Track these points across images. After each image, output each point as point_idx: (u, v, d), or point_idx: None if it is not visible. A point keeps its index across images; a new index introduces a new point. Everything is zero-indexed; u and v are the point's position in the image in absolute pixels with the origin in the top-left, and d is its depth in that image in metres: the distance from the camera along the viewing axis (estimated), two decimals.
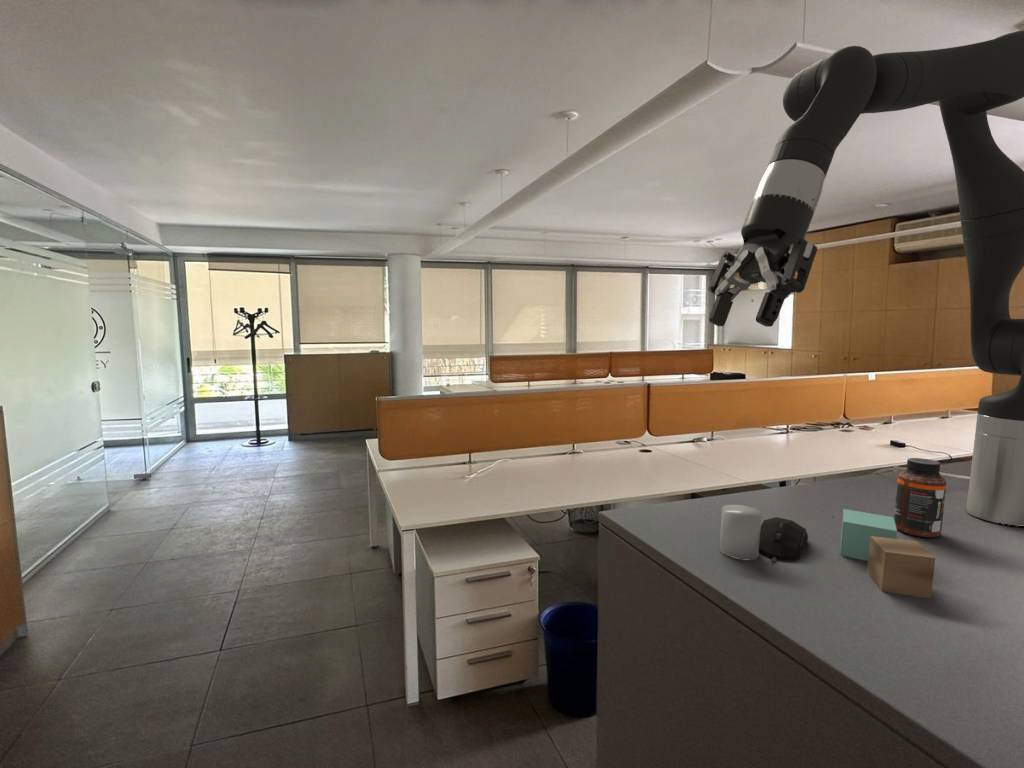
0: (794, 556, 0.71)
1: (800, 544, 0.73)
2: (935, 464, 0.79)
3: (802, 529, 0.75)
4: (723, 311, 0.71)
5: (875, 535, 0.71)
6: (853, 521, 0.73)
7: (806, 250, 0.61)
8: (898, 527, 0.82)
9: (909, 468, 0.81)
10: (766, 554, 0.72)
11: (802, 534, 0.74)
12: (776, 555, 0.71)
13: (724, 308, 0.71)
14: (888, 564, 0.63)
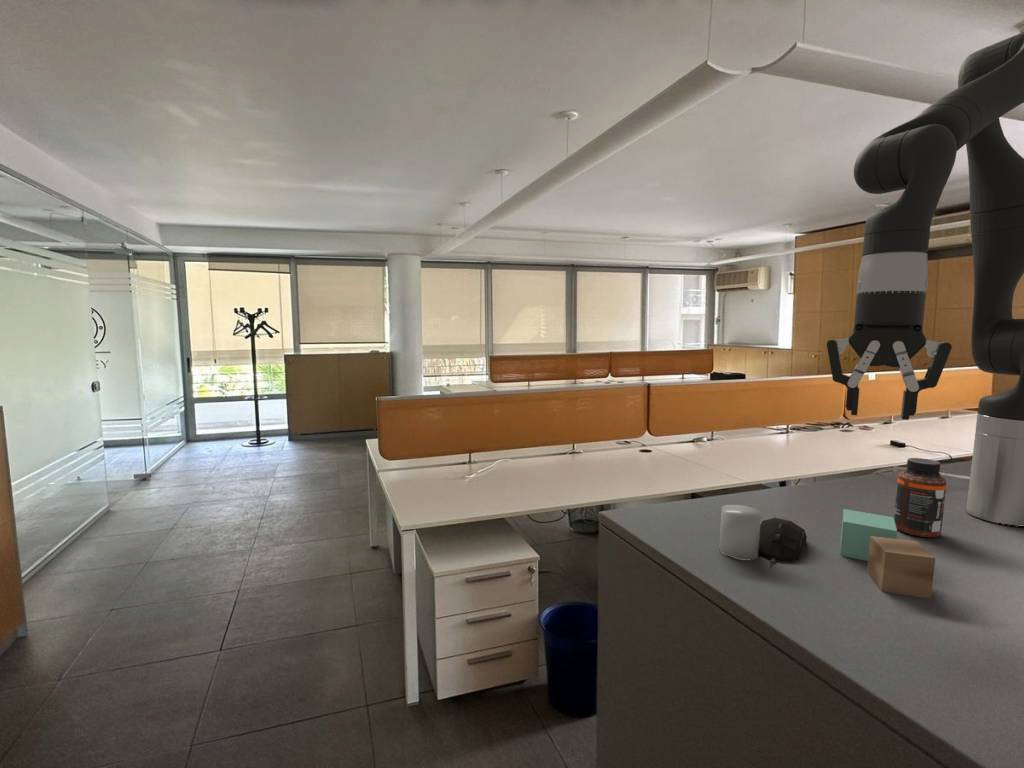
0: (793, 557, 0.71)
1: (799, 545, 0.72)
2: (935, 464, 0.79)
3: (801, 530, 0.75)
4: None
5: (875, 535, 0.71)
6: (853, 521, 0.73)
7: None
8: (898, 527, 0.82)
9: (909, 468, 0.81)
10: (765, 555, 0.72)
11: (801, 535, 0.74)
12: (775, 556, 0.71)
13: None
14: (888, 564, 0.63)
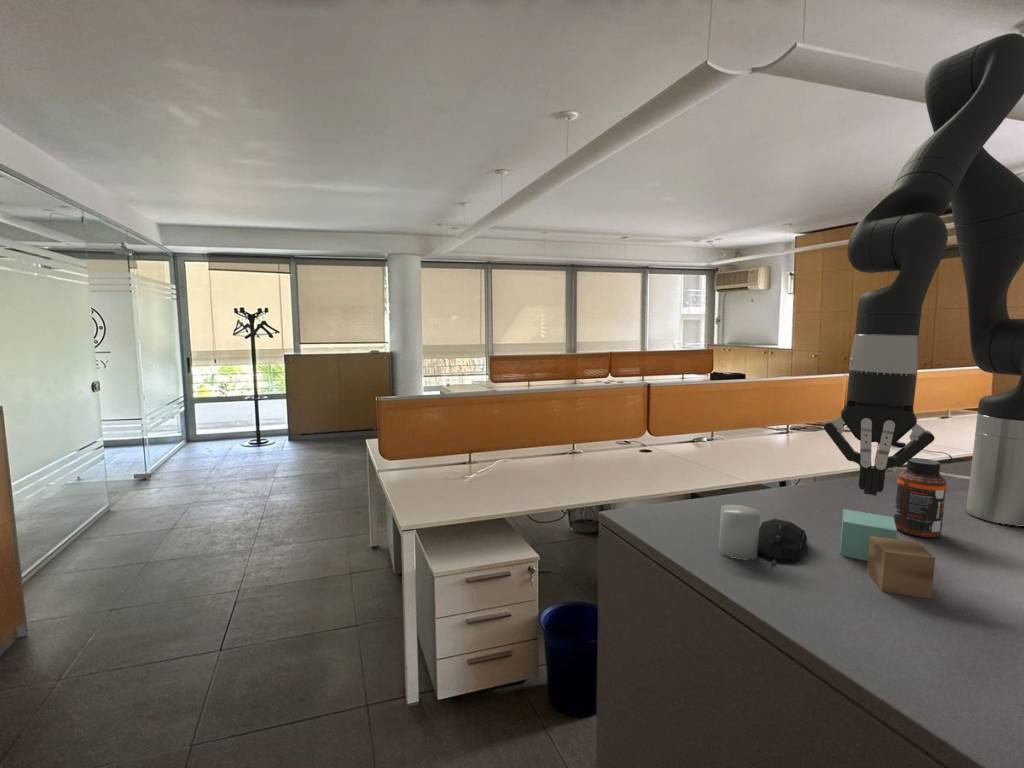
0: (793, 558, 0.70)
1: (799, 546, 0.72)
2: (935, 464, 0.79)
3: (801, 531, 0.75)
4: None
5: (875, 535, 0.71)
6: (853, 521, 0.73)
7: None
8: (898, 527, 0.82)
9: (909, 468, 0.81)
10: (765, 556, 0.71)
11: (801, 536, 0.74)
12: (776, 557, 0.70)
13: None
14: (888, 564, 0.63)
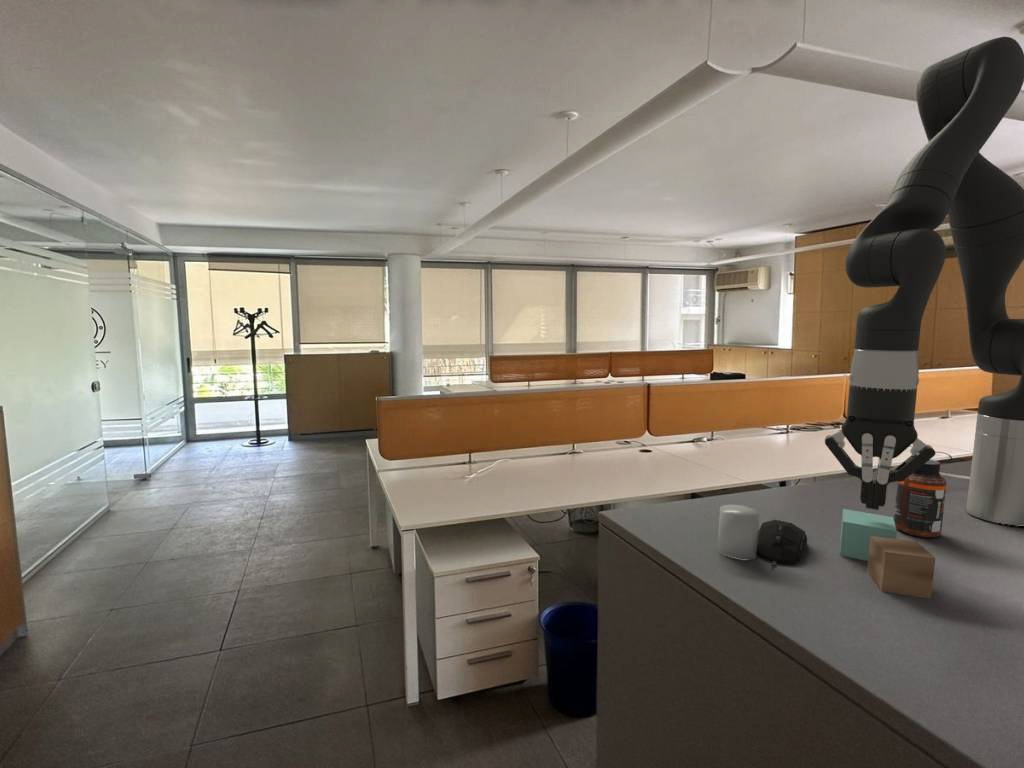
0: (794, 560, 0.70)
1: (800, 547, 0.72)
2: (935, 464, 0.79)
3: (801, 532, 0.74)
4: (872, 493, 0.73)
5: (875, 535, 0.71)
6: (852, 521, 0.73)
7: None
8: (898, 527, 0.82)
9: None
10: (766, 558, 0.71)
11: (802, 537, 0.73)
12: (776, 559, 0.70)
13: None
14: (888, 564, 0.63)
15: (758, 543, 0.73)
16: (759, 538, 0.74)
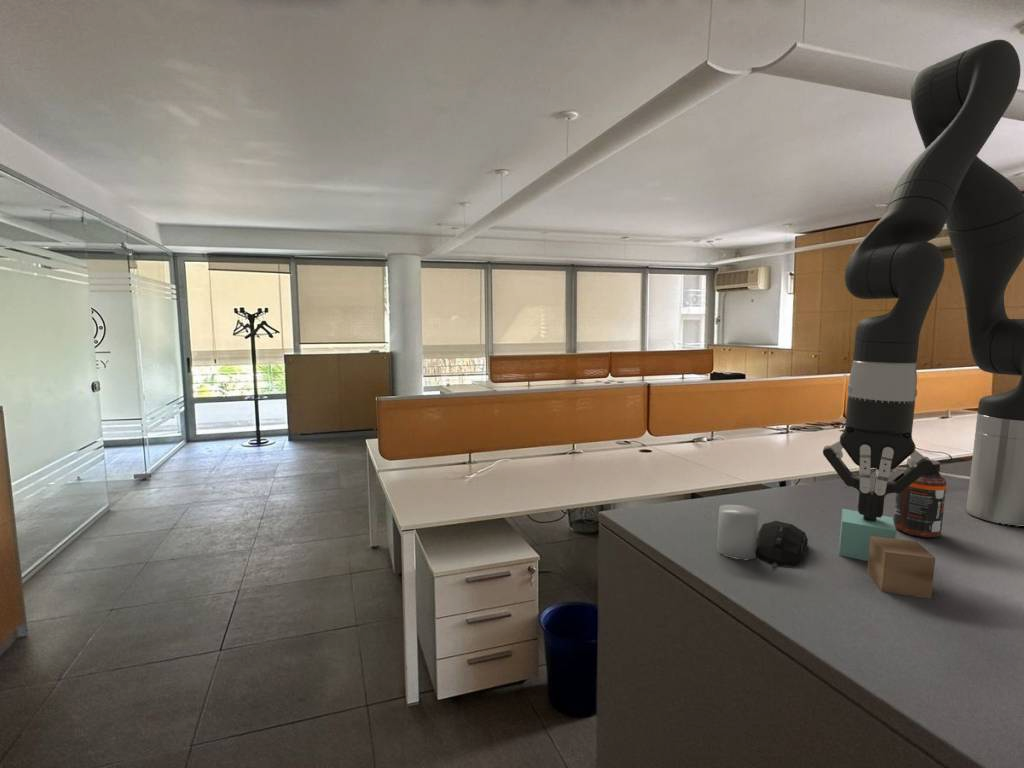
0: (794, 561, 0.69)
1: (801, 549, 0.71)
2: (935, 464, 0.79)
3: (802, 533, 0.74)
4: None
5: (874, 535, 0.71)
6: (852, 521, 0.73)
7: None
8: (898, 527, 0.82)
9: None
10: (766, 559, 0.71)
11: (802, 538, 0.73)
12: (777, 560, 0.70)
13: None
14: (888, 564, 0.63)
15: (759, 544, 0.73)
16: (760, 539, 0.74)
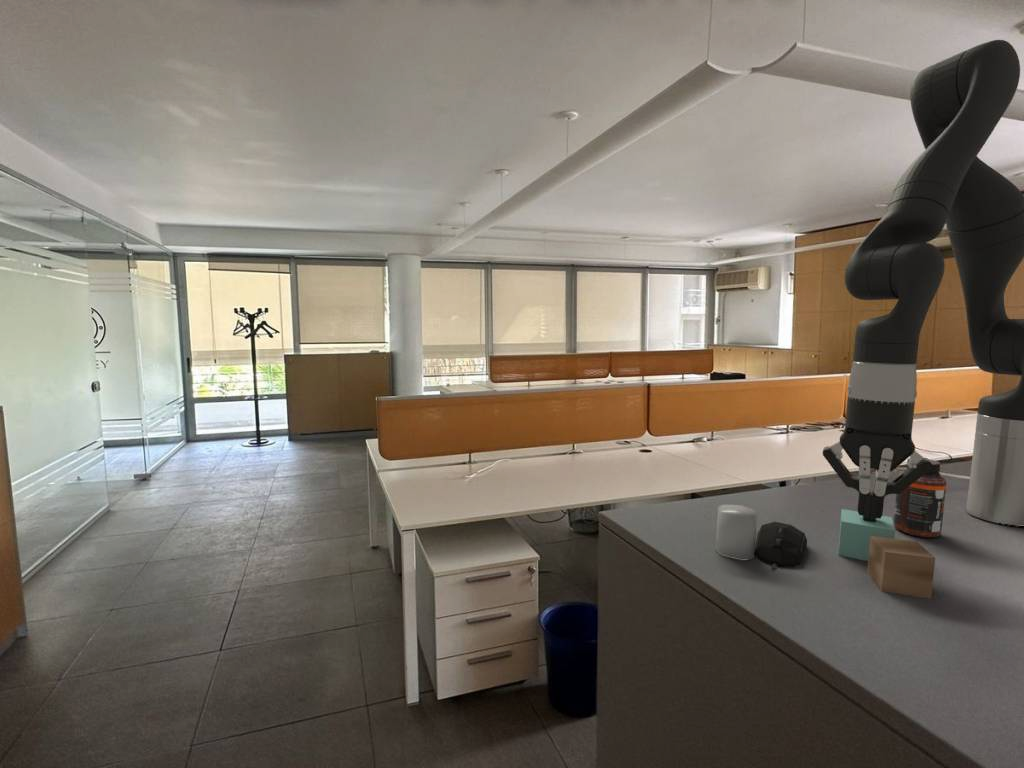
0: (794, 562, 0.69)
1: (800, 549, 0.71)
2: (935, 464, 0.79)
3: (801, 534, 0.74)
4: None
5: (873, 535, 0.71)
6: (851, 520, 0.73)
7: None
8: (898, 527, 0.82)
9: None
10: (766, 560, 0.70)
11: (802, 539, 0.72)
12: (776, 561, 0.69)
13: None
14: (888, 564, 0.63)
15: (758, 545, 0.72)
16: (759, 540, 0.73)
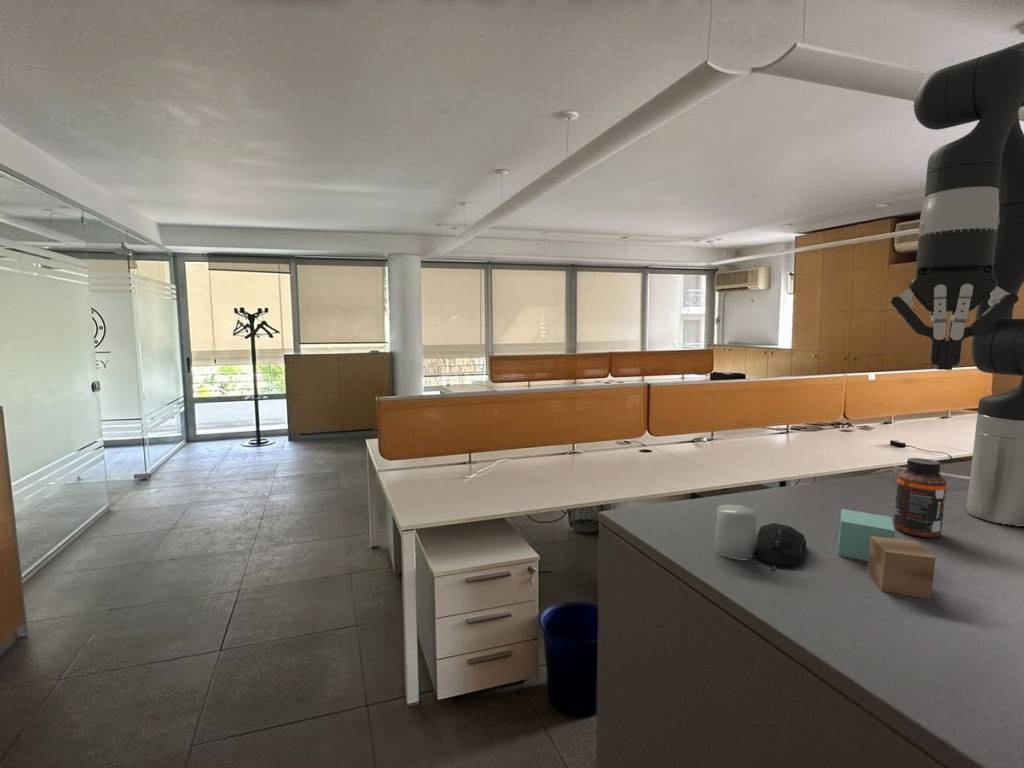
0: (794, 564, 0.69)
1: (799, 551, 0.70)
2: (935, 464, 0.79)
3: (801, 535, 0.73)
4: None
5: (873, 535, 0.71)
6: (851, 520, 0.73)
7: None
8: (898, 527, 0.82)
9: (909, 468, 0.81)
10: (765, 562, 0.70)
11: (801, 540, 0.72)
12: (776, 563, 0.69)
13: None
14: (888, 564, 0.63)
15: (757, 547, 0.72)
16: (758, 542, 0.73)
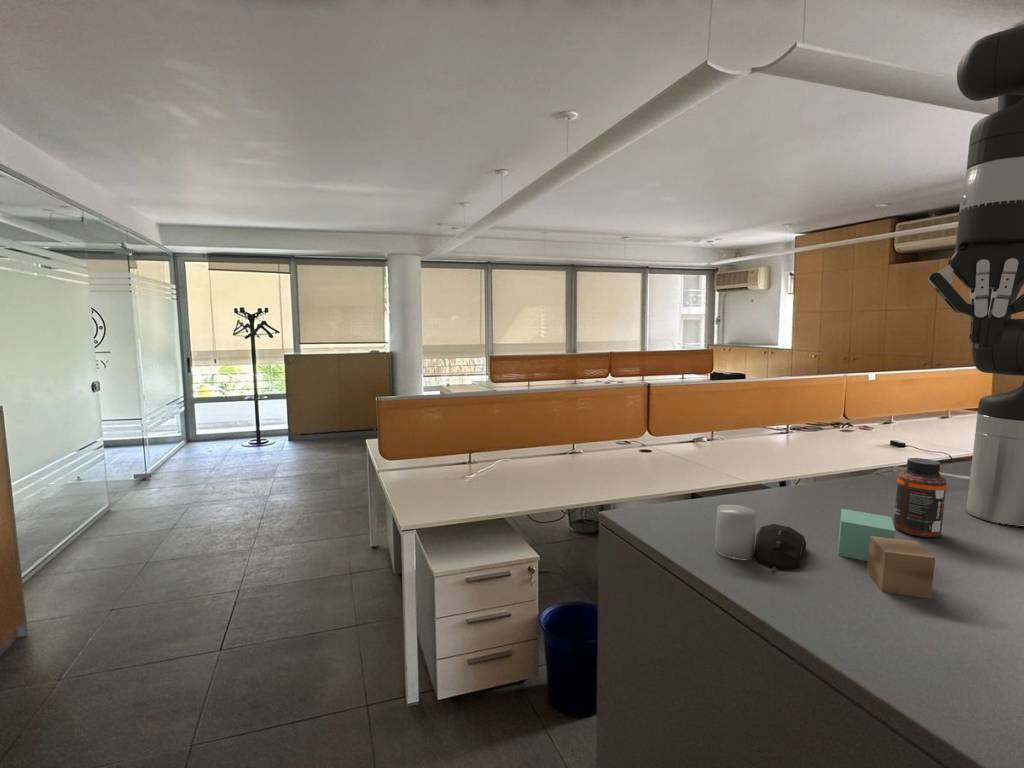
0: (794, 565, 0.68)
1: (800, 552, 0.70)
2: (935, 464, 0.79)
3: (801, 536, 0.73)
4: None
5: (873, 535, 0.71)
6: (851, 520, 0.73)
7: None
8: (898, 527, 0.82)
9: (909, 468, 0.81)
10: (765, 563, 0.69)
11: (801, 542, 0.72)
12: (776, 564, 0.68)
13: None
14: (888, 564, 0.63)
15: (757, 548, 0.72)
16: (758, 543, 0.72)
